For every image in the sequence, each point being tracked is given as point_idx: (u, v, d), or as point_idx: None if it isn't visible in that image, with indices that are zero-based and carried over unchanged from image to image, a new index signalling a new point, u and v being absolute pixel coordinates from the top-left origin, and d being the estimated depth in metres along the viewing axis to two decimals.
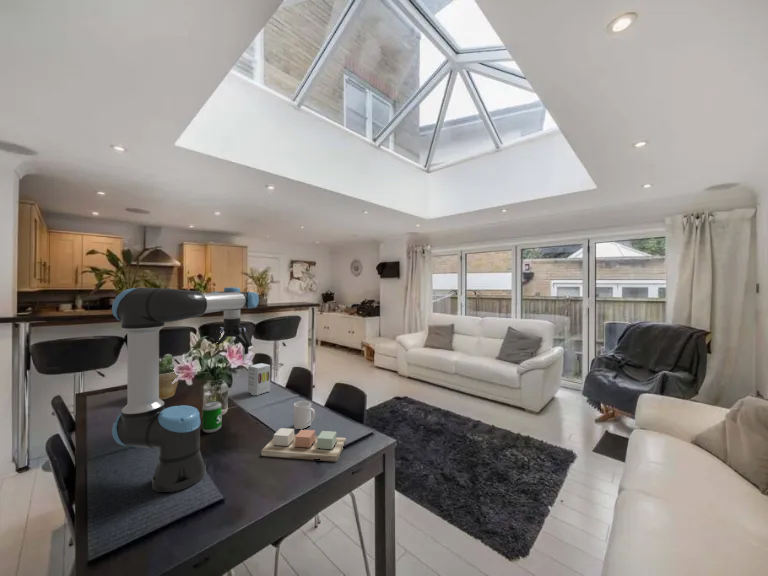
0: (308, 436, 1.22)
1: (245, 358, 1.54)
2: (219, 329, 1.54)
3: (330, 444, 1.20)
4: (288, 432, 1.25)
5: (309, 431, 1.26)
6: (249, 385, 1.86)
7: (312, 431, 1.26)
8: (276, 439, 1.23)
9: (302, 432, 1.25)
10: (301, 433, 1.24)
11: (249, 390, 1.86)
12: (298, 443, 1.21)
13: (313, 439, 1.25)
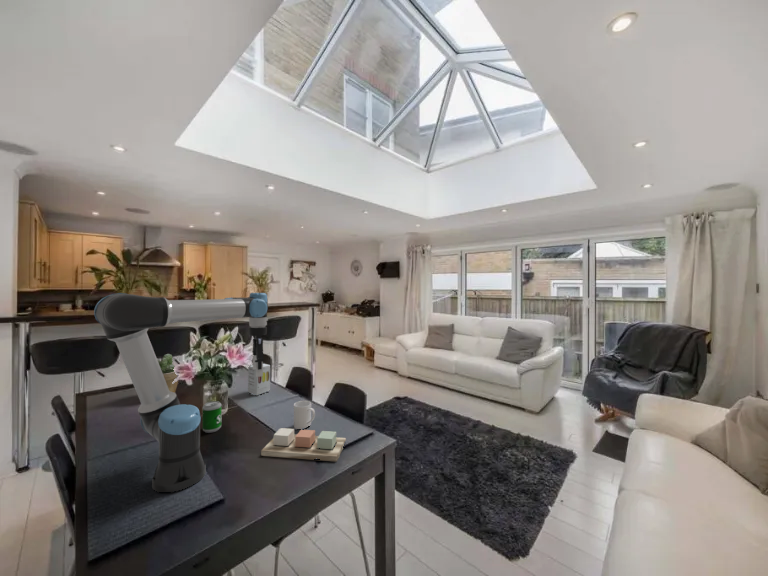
0: (308, 436, 1.22)
1: (259, 374, 1.35)
2: None
3: (330, 444, 1.20)
4: (288, 432, 1.25)
5: (309, 431, 1.26)
6: (249, 385, 1.86)
7: (312, 431, 1.26)
8: (276, 439, 1.23)
9: (302, 432, 1.25)
10: (301, 433, 1.24)
11: (249, 390, 1.86)
12: (298, 443, 1.21)
13: (313, 439, 1.25)
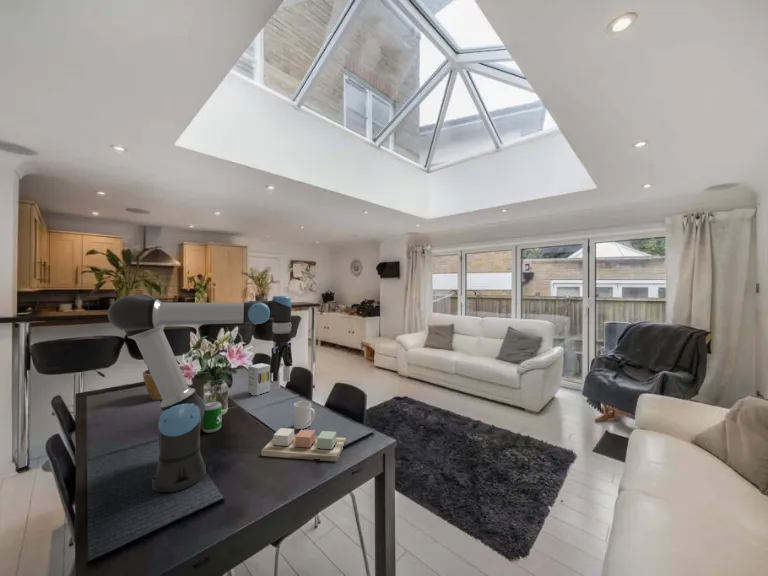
0: (308, 436, 1.22)
1: (275, 386, 1.26)
2: None
3: (330, 444, 1.20)
4: (288, 432, 1.25)
5: (309, 431, 1.26)
6: (249, 385, 1.86)
7: (312, 431, 1.26)
8: (276, 439, 1.23)
9: (302, 432, 1.25)
10: (301, 433, 1.24)
11: (249, 390, 1.86)
12: (298, 443, 1.21)
13: (313, 439, 1.25)
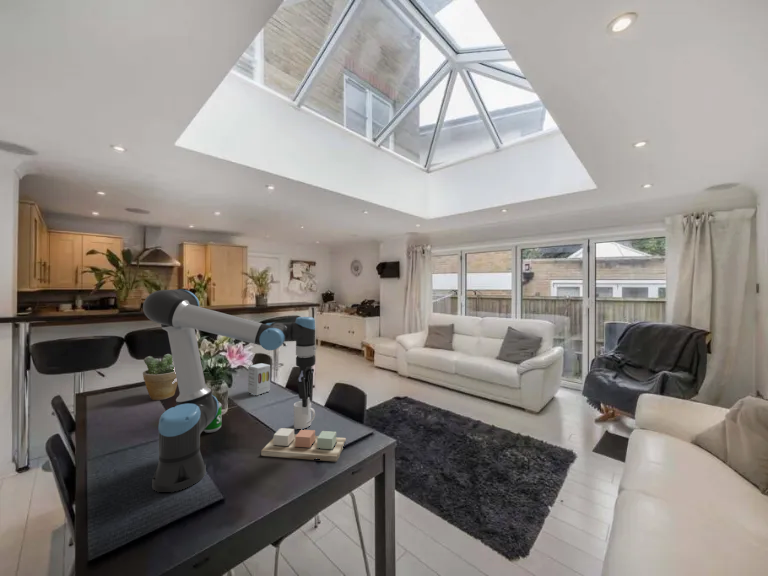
0: (308, 436, 1.22)
1: (305, 411, 1.24)
2: None
3: (330, 444, 1.20)
4: (288, 432, 1.25)
5: (309, 431, 1.26)
6: (249, 385, 1.86)
7: (312, 431, 1.26)
8: (276, 439, 1.23)
9: (302, 432, 1.25)
10: (301, 433, 1.24)
11: (249, 390, 1.86)
12: (298, 443, 1.21)
13: (313, 439, 1.25)
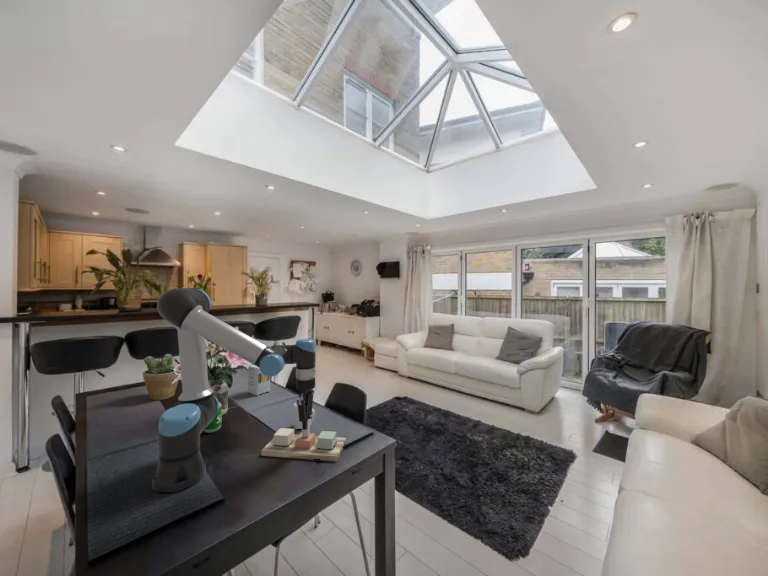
0: (308, 439, 1.22)
1: (305, 434, 1.23)
2: None
3: (330, 444, 1.20)
4: (288, 432, 1.25)
5: None
6: (249, 385, 1.86)
7: (312, 434, 1.26)
8: (276, 439, 1.23)
9: None
10: (301, 437, 1.24)
11: (249, 390, 1.86)
12: (298, 447, 1.21)
13: (313, 442, 1.25)
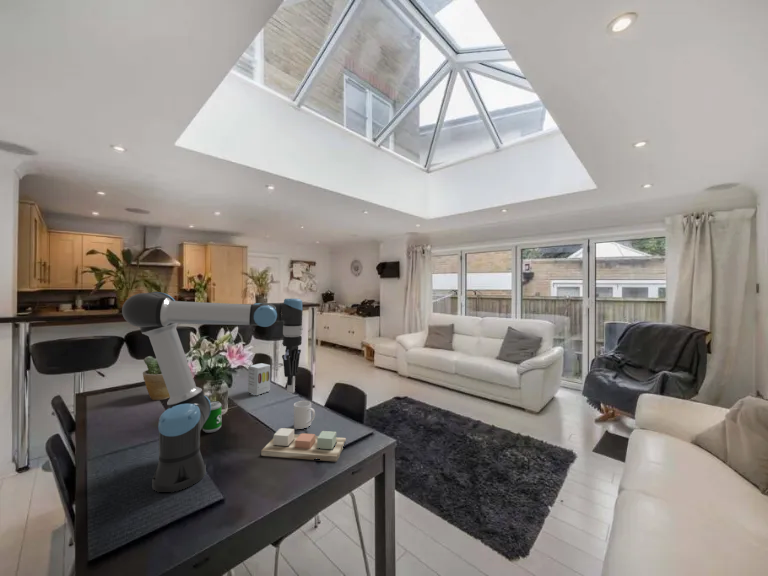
0: (308, 440, 1.22)
1: (290, 390, 1.28)
2: None
3: (330, 444, 1.20)
4: (288, 432, 1.25)
5: (309, 435, 1.26)
6: (249, 385, 1.86)
7: (312, 435, 1.26)
8: (276, 439, 1.23)
9: (302, 436, 1.25)
10: (301, 437, 1.24)
11: (249, 390, 1.86)
12: (298, 447, 1.21)
13: (313, 443, 1.25)
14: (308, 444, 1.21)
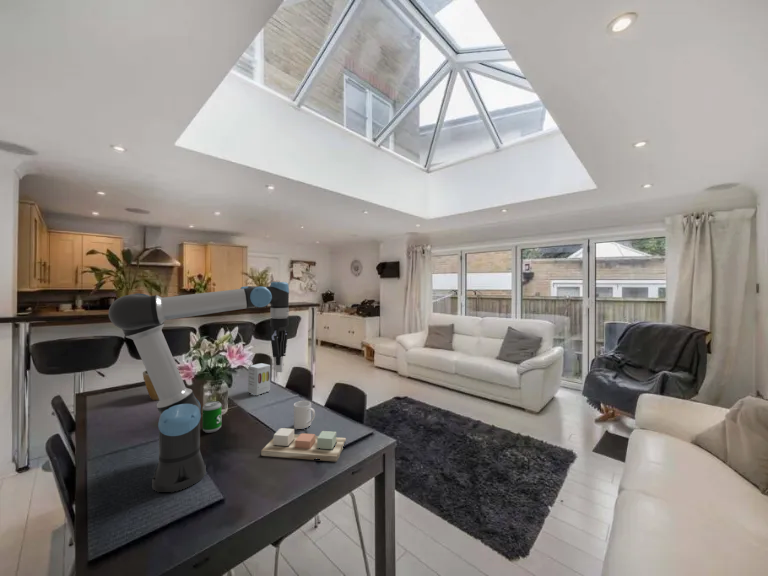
0: (308, 440, 1.22)
1: (278, 369, 1.33)
2: None
3: (330, 444, 1.20)
4: (288, 432, 1.25)
5: (309, 435, 1.26)
6: (249, 385, 1.86)
7: (312, 435, 1.26)
8: (276, 439, 1.23)
9: (302, 436, 1.25)
10: (301, 437, 1.24)
11: (249, 390, 1.86)
12: (298, 447, 1.21)
13: (313, 443, 1.25)
14: (308, 444, 1.21)
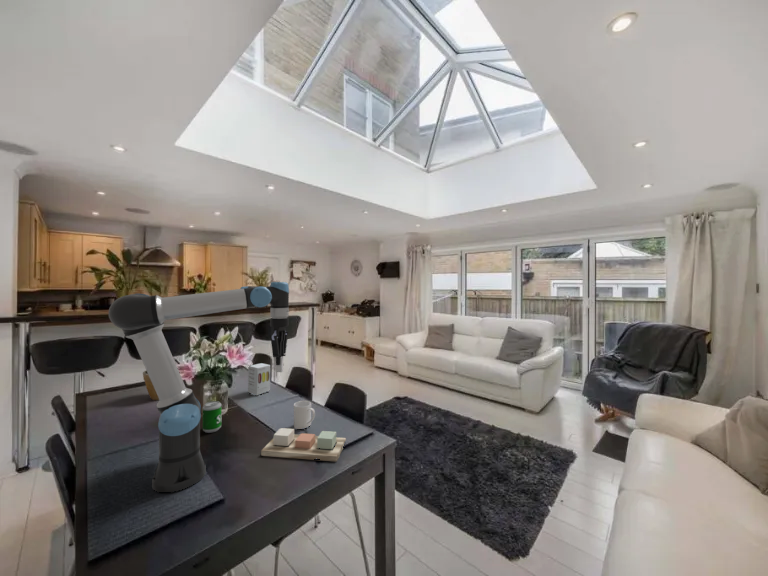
0: (308, 440, 1.22)
1: (278, 369, 1.33)
2: None
3: (330, 444, 1.20)
4: (288, 432, 1.25)
5: (309, 435, 1.26)
6: (249, 385, 1.86)
7: (312, 435, 1.26)
8: (276, 439, 1.23)
9: (302, 436, 1.25)
10: (301, 437, 1.24)
11: (249, 390, 1.86)
12: (298, 447, 1.21)
13: (313, 443, 1.25)
14: (308, 444, 1.21)
